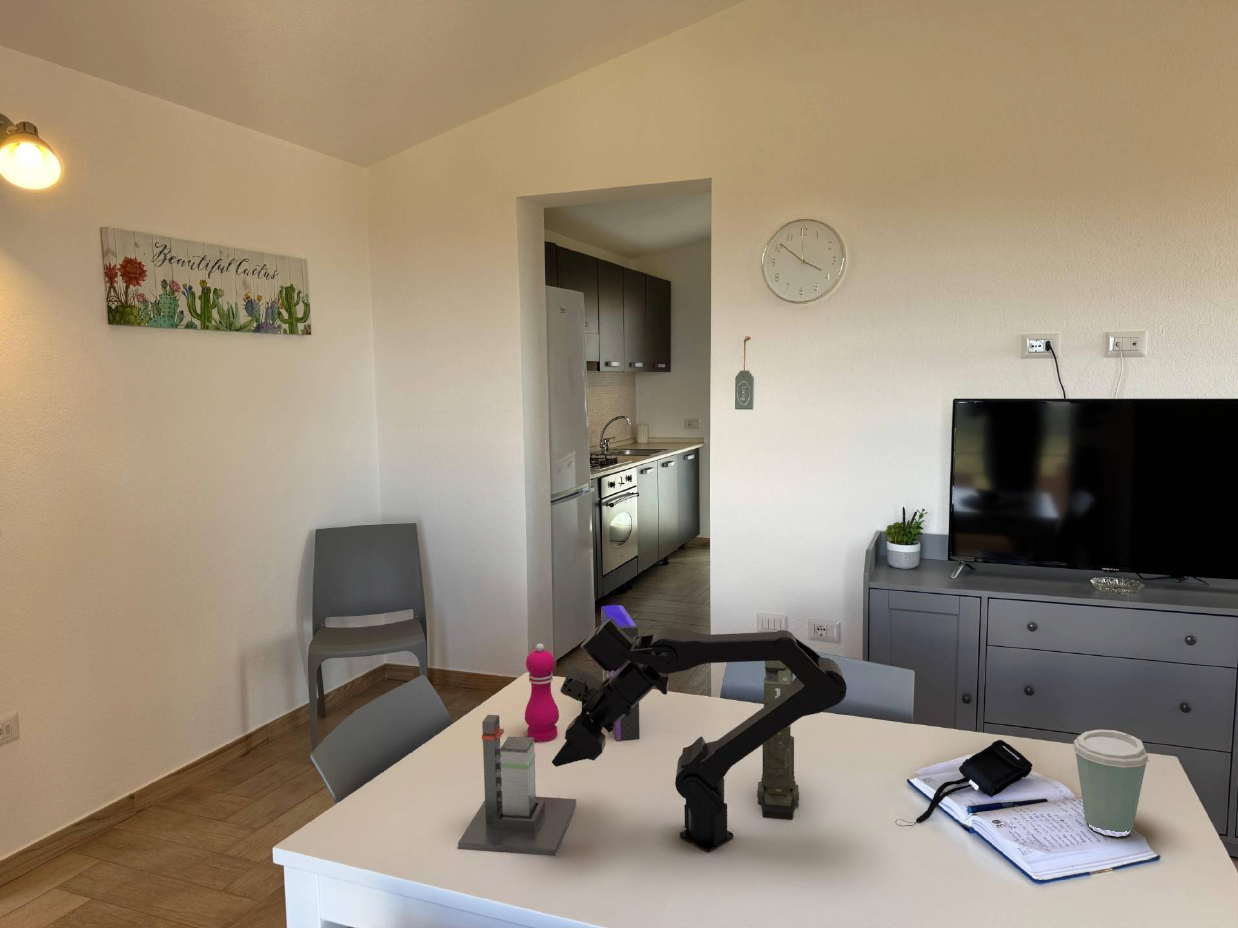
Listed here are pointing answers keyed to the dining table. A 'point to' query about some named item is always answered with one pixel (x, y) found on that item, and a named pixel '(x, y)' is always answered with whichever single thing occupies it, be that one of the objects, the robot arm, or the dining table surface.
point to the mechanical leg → (778, 754)
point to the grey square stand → (505, 831)
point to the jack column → (518, 777)
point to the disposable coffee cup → (1110, 777)
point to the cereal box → (627, 724)
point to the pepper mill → (541, 697)
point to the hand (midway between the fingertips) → (560, 751)
